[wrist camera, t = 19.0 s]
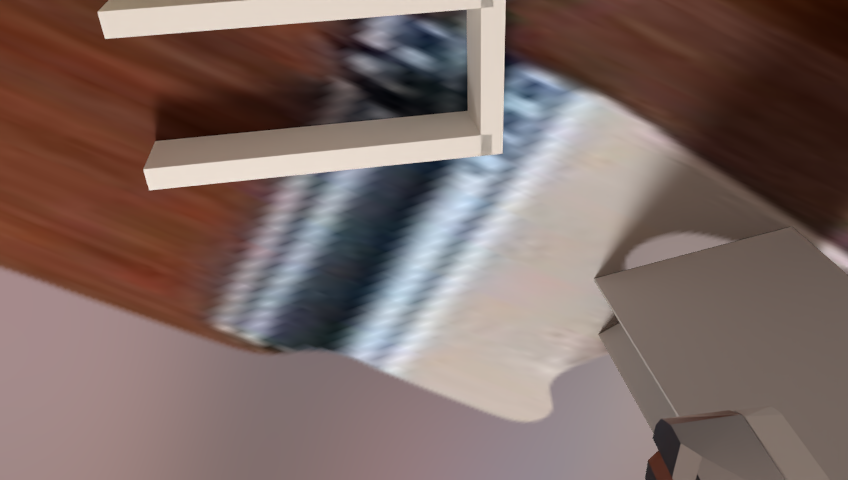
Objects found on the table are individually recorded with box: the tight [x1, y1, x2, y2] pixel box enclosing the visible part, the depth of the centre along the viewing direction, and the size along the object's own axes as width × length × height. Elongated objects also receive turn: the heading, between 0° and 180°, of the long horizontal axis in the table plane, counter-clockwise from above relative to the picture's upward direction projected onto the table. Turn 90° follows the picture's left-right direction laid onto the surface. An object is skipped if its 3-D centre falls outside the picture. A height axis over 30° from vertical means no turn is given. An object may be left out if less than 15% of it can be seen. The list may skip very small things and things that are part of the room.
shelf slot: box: [98, 0, 506, 190], centre depth 35 cm, size 19×9×4 cm, turn 92°
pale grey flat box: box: [594, 227, 848, 480], centre depth 37 cm, size 14×6×30 cm, turn 102°
